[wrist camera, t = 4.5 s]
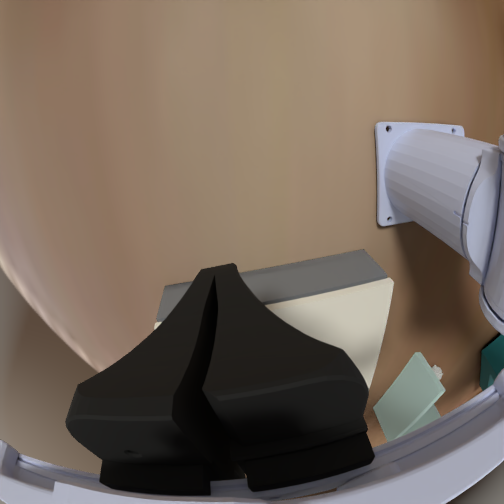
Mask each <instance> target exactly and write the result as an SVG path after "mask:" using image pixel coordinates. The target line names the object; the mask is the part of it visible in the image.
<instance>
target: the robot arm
mask: <svg viewBox="0 0 504 504" xmlns="http://www.w3.org/2000/svg"><path fill="white" fill-rule="evenodd" d="M387 126H388V127H389V131H388V132H387V131H386V127H387ZM452 130H453V132H452ZM375 138H376V156H377V222H378V224H379V225H381V226H388V225H394V224H399V223H405V222H411V221H415V222H416V223H418V224H419V225H421V226H422V227H423V228H425V229H426V230H428V231H429V232H431V233H432V234H433V235H435V236H436V237H438V238H439V239H440V240H442V241H443V242H444V243H446V244H447V245H449V246H450V247H451V248H453V249H454V250H455V251H456V252H458V253H459V254H460V255H462V256H463V257H464V258H465V259H467V260H468V261H469V263H470V272H469V275H470V276H471V277H473V278H474V279H475V280H476V281H477V282H478V283H479V284H480V285H481V287H480V290H479V303H480V306H481V310H482V312H483V313H484V316H485V317H486V318H487V320H488V321H489V323H490V324H491V325H492V326H493V327H494V328H495V329H496V330H497V331H498V332H500V333H501V334H502V335H504V135H501V136H500V137H499V146H496V145H493V144H490V143H486V142H482V141H479V140H475V139H471V138H467V137H464V129H463V127H462V126H458V125H447V124H433V123H413V122H378V123H377V124H376V125H375ZM388 217H390V219H389V220H388V221H387V218H388ZM368 395H369V388H368V386H367V384H366V381H365V379H364V377H363V376H362V374H361V372H360V371H359V369H358V368H357V367H356V365H355V364H354V362H353V361H352V360H351V358H350V357H349V356H348V355H347V353H346V352H345V351H344V350H343V349H341V348H338V347H336V346H333V345H330V344H328V343H325V342H322V341H320V340H317V339H315V338H312V337H310V336H308V335H306V334H304V333H303V332H301V331H299V330H298V329H296V328H294V327H293V326H291V325H290V324H288V323H286V322H285V321H283V320H282V319H281V318H279V317H278V316H277V315H275V314H274V313H273V312H272V311H271V310H269V309H268V308H267V307H266V306H265V305H264V304H263V303H262V302H261V301H260V300H259V299H258V298H257V297H256V296H255V295H254V294H253V292H252V291H251V290H250V289H249V288H248V286H247V285H246V284H245V282H244V281H243V279H242V278H241V276H240V274H239V272H238V270H237V266H236V265H235V264H234V263H231V264H226V265H221V266H216V267H211V268H206V269H201V270H200V272H199V273H198V275H197V276H196V278H195V279H194V281H193V282H192V284H191V285H190V287H189V288H188V290H187V291H186V293H185V294H184V295H183V297H182V298H181V300H180V301H179V302H178V303H177V305H176V306H175V307H174V309H173V310H172V311H171V312H170V314H169V315H168V316H167V317H166V318H165V320H164V321H163V322H162V323H161V324H160V325H159V326H158V327H157V328H156V329H155V330H154V331H153V332H152V333H151V334H150V335H149V336H148V337H147V338H146V339H145V340H143V341H142V342H141V343H140V344H139V345H138V346H136V347H135V348H134V349H133V350H132V351H131V352H129V353H128V354H127V355H125V356H124V357H123V358H121V359H120V360H118V361H117V362H116V363H114V364H113V365H111V366H110V367H108V368H107V369H105V370H103V371H102V372H100V373H98V374H97V375H95V376H93V377H91V378H90V379H88V380H86V381H84V382H82V383H80V384H78V386H77V388H76V391H75V394H74V397H73V400H72V403H71V406H70V409H69V412H68V415H67V418H66V427H67V429H68V430H69V432H70V433H71V435H72V436H73V437H74V438H75V439H76V440H77V441H78V442H79V443H81V444H82V445H83V446H84V447H86V448H87V449H88V450H90V451H91V452H92V453H93V454H95V455H96V456H98V457H99V458H101V459H102V460H103V461H102V467H101V473H100V475H99V474H94V473H89V472H84V471H78V470H74V469H70V468H66V467H62V466H58V465H55V464H51V463H48V462H44V461H41V460H38V459H35V458H32V457H29V456H26V455H23V454H20V453H18V451H17V450H16V449H14V448H13V447H12V446H11V445H9V444H8V443H6V442H5V441H3V440H1V439H0V500H2V501H3V502H5V503H6V504H445V503H447V502H449V501H450V500H452V499H453V498H455V497H456V496H458V495H459V494H461V493H462V492H464V491H465V490H467V489H468V488H469V487H471V486H472V485H474V484H475V483H476V482H478V481H479V480H480V479H482V478H483V477H484V476H485V475H487V474H488V473H489V472H491V471H492V470H493V469H494V468H495V467H496V466H498V465H499V464H500V463H501V462H502V461H504V368H503V369H502V370H501V372H500V373H499V374H498V376H497V377H496V379H495V381H494V383H493V385H491V386H490V387H488V388H487V389H486V390H484V391H483V392H481V393H480V394H478V395H477V396H475V397H474V398H472V399H471V400H469V401H467V402H466V403H464V404H463V405H461V406H459V407H458V408H456V409H454V410H453V411H451V412H449V413H447V414H445V415H444V416H442V417H440V418H438V419H436V420H434V421H433V422H431V423H429V424H427V425H425V426H423V427H421V428H419V429H416V430H414V431H412V432H410V433H408V434H406V435H403V436H401V437H399V438H397V439H394V440H392V441H389V442H387V443H384V444H382V445H379V446H377V447H374V448H372V446H371V444H370V441H369V439H368V436H367V434H366V432H367V430H368V428H367V425H366V422H365V420H364V417H363V414H364V410H365V407H366V403H367V400H368ZM245 474H246V475H247V478H245ZM337 487H338V488H337ZM333 488H337V491H336V492H331V493H326V494H321V495H316V496H311V497H305V498H298V499H291V500H285V499H290V498H295V497H300V496H305V495H309V494H314V493H317V492H321V491H325V490H329V489H333ZM279 500H283V501H279ZM272 501H274V502H272Z"/></svg>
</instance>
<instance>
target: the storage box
mask: <svg viewBox="0 0 504 504" xmlns="http://www.w3.org/2000/svg"><path fill="white" fill-rule="evenodd" d="M239 274H240V276H241V278H242V279H243V281H244V282H245V284H246V285H247V286H248V288H249V289H250V290H251V291H252V292H253V294H254V295H255V296H256V297H257V298H258V299H259V300H260V301H261V302H262V303H263V304H264V305H269V304H274V303H279V302H284V301H289V300H294V299H299V298H304V297H309V296H313V295H318V294H323V293H327V292H332V291H336V290H341V289H345V288H349V287H353V286H358V285H362V284H366V283H370V282H374V281H378V280H382V279H386V278H387V274H386V273H385V271H384V270H383V269H382V268H381V267H380V266H379V265H378V264H377V263H376V262H375V261H374V260H373V258H372V257H371V256H370V255H369V254H368V253H367V252H366V251H365V250H364V249H363V250H358V251H353V252H348V253H343V254H338V255H333V256H328V257H322V258H317V259H312V260H307V261H302V262H297V263H291V264H286V265H281V266H275V267H270V268H265V269H259V270H254V271H248V272H243V273H239ZM192 282H193V281H192ZM192 282H186V283H180V284H174V285H168V286H165V288H164V292H163V295H162V299H161V303H160V307H159V311H158V314H157V318H156V319H157V321H158V322H163V321H164V320H165V318H166V317H167V316H168V315H169V314H170V312H171V311H172V310H173V309H174V307H175V306H176V305H177V303H178V302H179V301H180V300H181V298H182V297H183V295H184V294H185V293H186V291H187V290H188V288H189V287H190V285H191V284H192Z"/></svg>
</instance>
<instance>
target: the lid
mask: <svg viewBox="0 0 504 504" xmlns="http://www.w3.org/2000/svg"><path fill="white" fill-rule="evenodd" d="M393 285H394V282H393V281H392V279H391V278H386V279H382V280H378V281H374V282H370V283H366V284H362V285H358V286H353V287H349V288H345V289H341V290H336V291H332V292H327V293H323V294H318V295H313V296H309V297H304V298H299V299H294V300H289V301H284V302H279V303H274V304H269V305H265V306H266V307H267V308H268V309H269V310H271V311H272V312H273V313H274V314H275V315H277V316H278V317H279V318H281V319H282V320H283V321H285V322H286V323H288V324H290V325H291V326H293V327H294V328H296V329H298V330H299V331H301V332H303V333H304V334H306V335H308V336H310V337H312V338H315V339H317V340H320V341H322V342H325V343H328V344H330V345H333V346H336V347H338V348H341V349H343V350H344V351H345V352H346V353H347V355H348V356H349V357H350V358H351V360H352V361H353V362H354V364H355V365H356V367H357V368H358V369H359V371H360V372H361V374H362V376H363V377H364V379H365V381H366V384H367V386H368V388H370V385H371V382H372V378H373V375H374V371H375V368H376V364H377V360H378V357H379V353H380V349H381V345H382V341H383V336H384V332H385V327H386V323H387V318H388V313H389V308H390V303H391V297H392V291H393ZM161 323H162V322H156V323H155V327H154V330H155V329H156V328H157V327H158V326H159V325H160V324H161Z"/></svg>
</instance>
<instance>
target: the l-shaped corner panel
mask: <svg viewBox="0 0 504 504" xmlns="http://www.w3.org/2000/svg"><path fill="white" fill-rule="evenodd" d="M441 372H442V371H441V369H440V368H439V367H436V365H435V366H433V367H432V368H431V367H430V365H429V364H428V362H427V361H426V359H425V358H424V357H423V355H422V354H421V352H415V353H414V355H413V356H412V358H411V359H410V361H409V362H408V363H407V365H406V366H405V368H404V369H403V370H402V372H401V373H400V374H399V376H398V377H397V379H396V380H395V381H394V382H393V384H392V385H391V386H390V388H389V389H388V390H387V391H386V393H385V394H384V395H383V396H382V398H381V399H380V400H379V401H378V402H377V404H376V405H375V406H374V407H373V409H374V412H375V414H376V416H377V418H378V421H379V423H380V425H381V428H382V430H383V432H384V435H385V437H386V439H387V442H389V441H392V440H394V439H397V438H399V437H401V436H403V435H406V434H408V433H410V432H412V431H414V430H416V429H419V428H421V427H423V426H425V425H427V424H429V423H431V422H433V421H434V420H436V419H438V418H440V417H441V416H440V414H439V412H438V410H437V409H436V407H435V405H434V403H435V402H436V401H437V400H438V399H439V397H440V396H441V395H442V394H443V393H444V392H445V391H446V390H445V389H444V387H443V385H442V384H441V382H440V381H439V380H440V379H441V378H442V375H443V373H442V374H441Z"/></svg>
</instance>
